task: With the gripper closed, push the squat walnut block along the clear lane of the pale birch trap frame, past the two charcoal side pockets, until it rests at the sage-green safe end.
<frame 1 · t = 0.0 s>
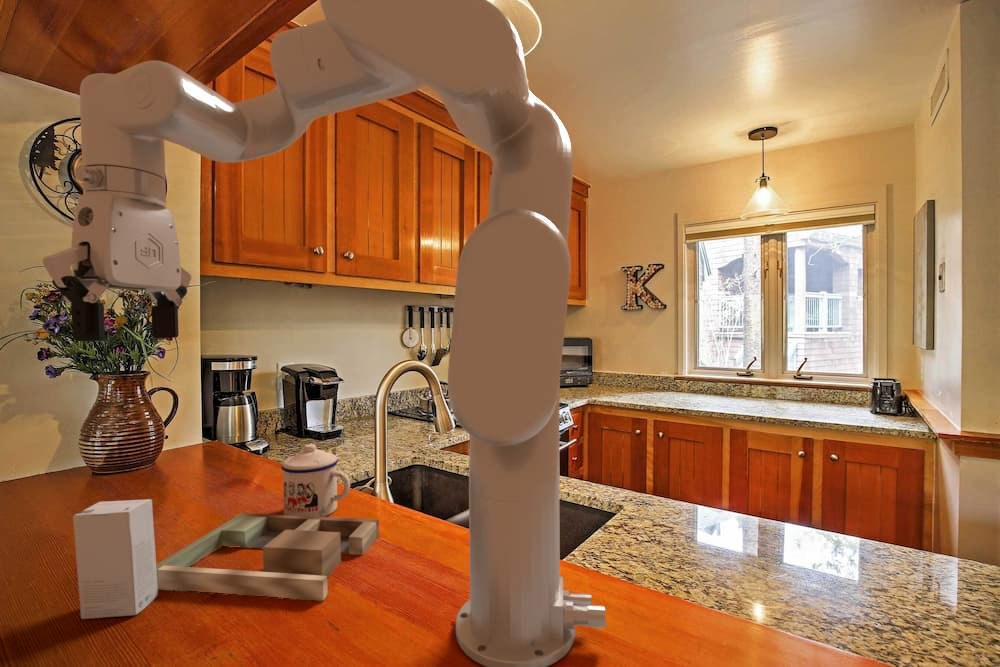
hand: (130, 339, 55), 31 cm above the countertop, tool pointing down, fingers open, 9 cm apart
skincare box: (119, 610, 54), on the countertop
teacup with lid: (318, 513, 81), on the countertop
block: (303, 572, 62), on the countertop
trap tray: (277, 561, 64), on the countertop
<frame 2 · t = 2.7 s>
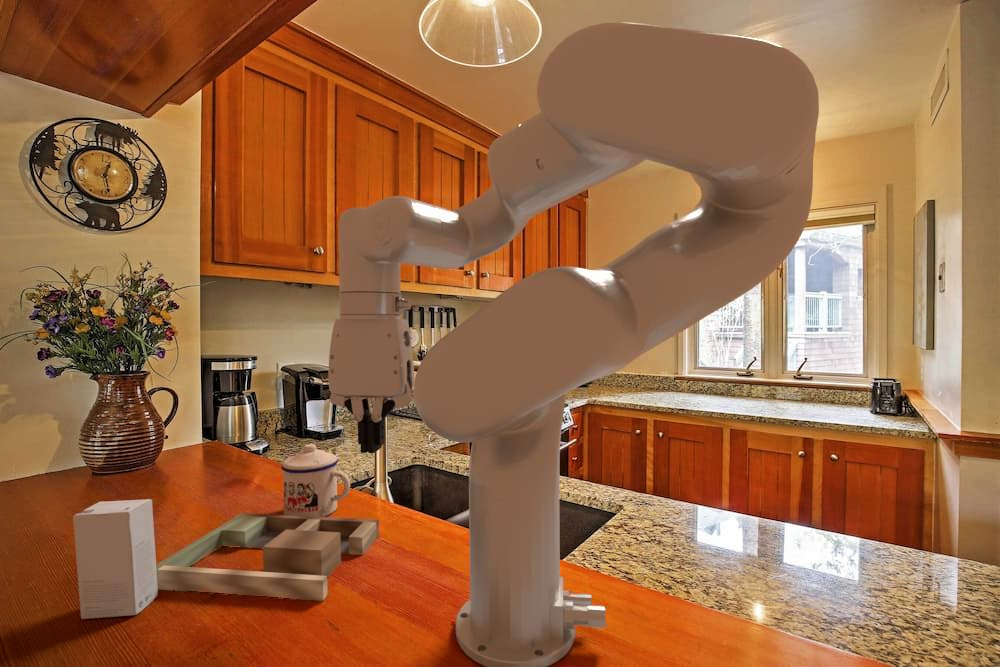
hand: (371, 449, 60), 16 cm above the countertop, tool pointing down, fingers closed
nothing on the countertop moved.
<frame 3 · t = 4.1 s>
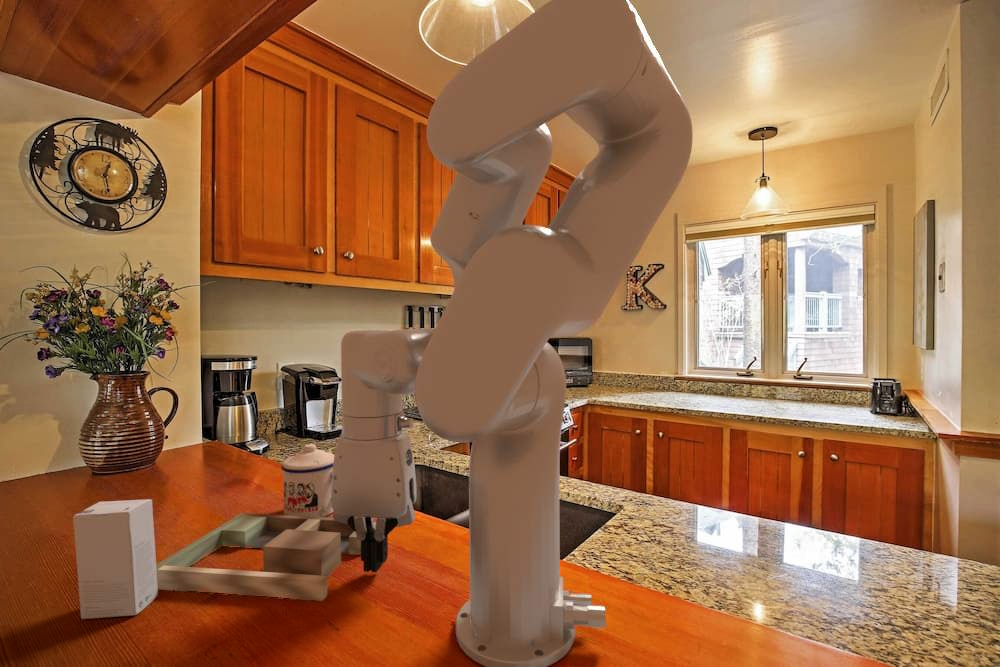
hand: (374, 566, 61), 1 cm above the countertop, tool pointing down, fingers closed
nothing on the countertop moved.
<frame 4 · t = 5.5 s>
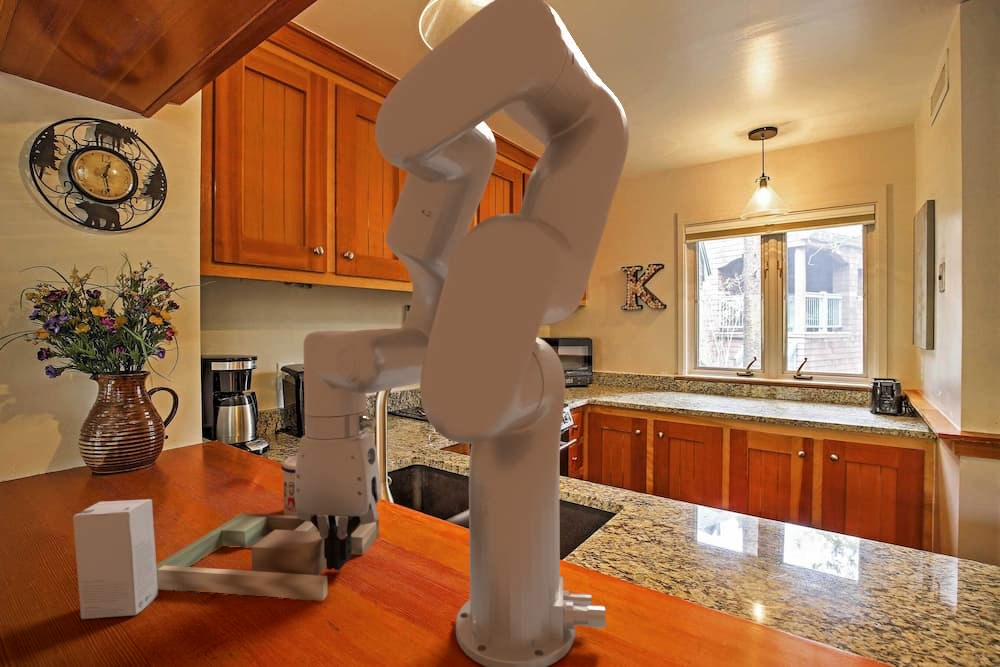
hand: (338, 564, 61), 1 cm above the countertop, tool pointing down, fingers closed
block: (292, 572, 62), on the countertop, touching gripper
everything else where it was.
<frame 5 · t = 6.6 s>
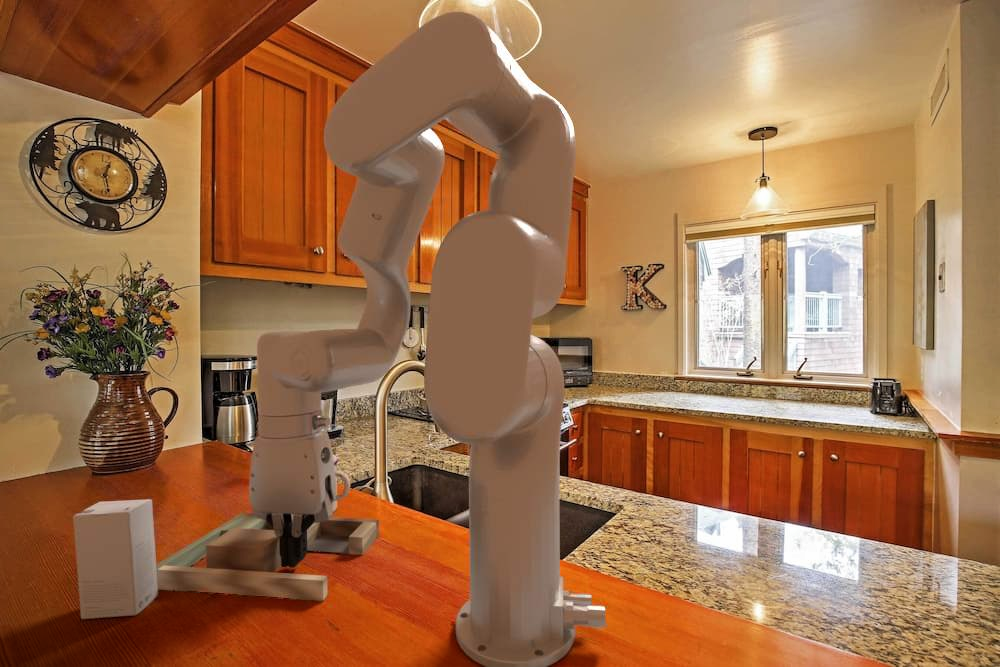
hand: (293, 561, 62), 1 cm above the countertop, tool pointing down, fingers closed
block: (248, 570, 62), on the countertop, touching gripper
everything else where it was.
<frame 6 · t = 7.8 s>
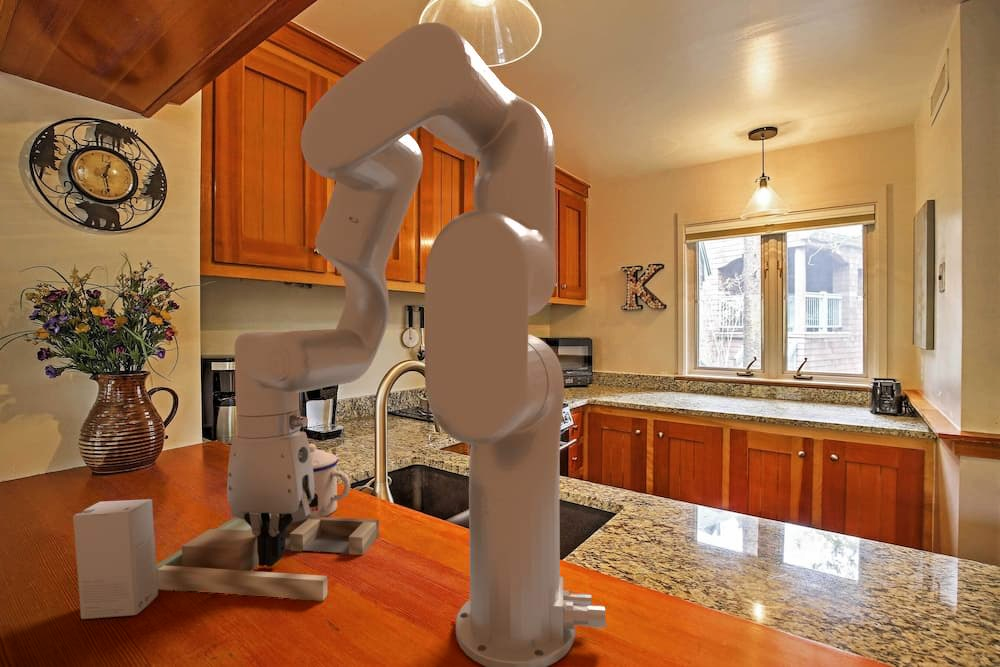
hand: (271, 560, 62), 1 cm above the countertop, tool pointing down, fingers closed
block: (224, 571, 62), on the countertop
everything else where it was.
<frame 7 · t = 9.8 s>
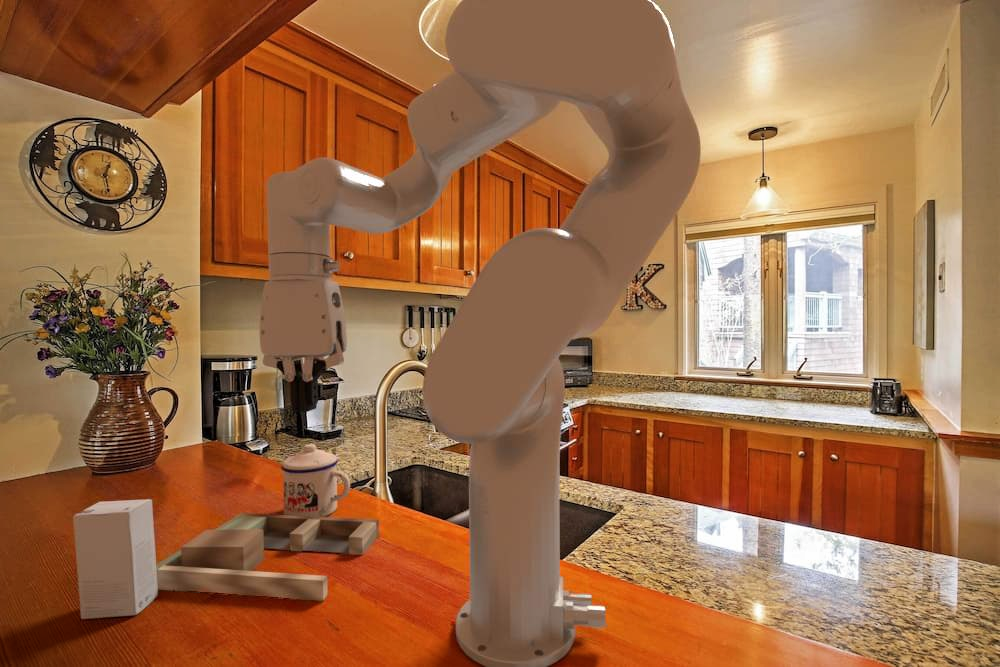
hand: (304, 410, 62), 21 cm above the countertop, tool pointing down, fingers closed
nothing on the countertop moved.
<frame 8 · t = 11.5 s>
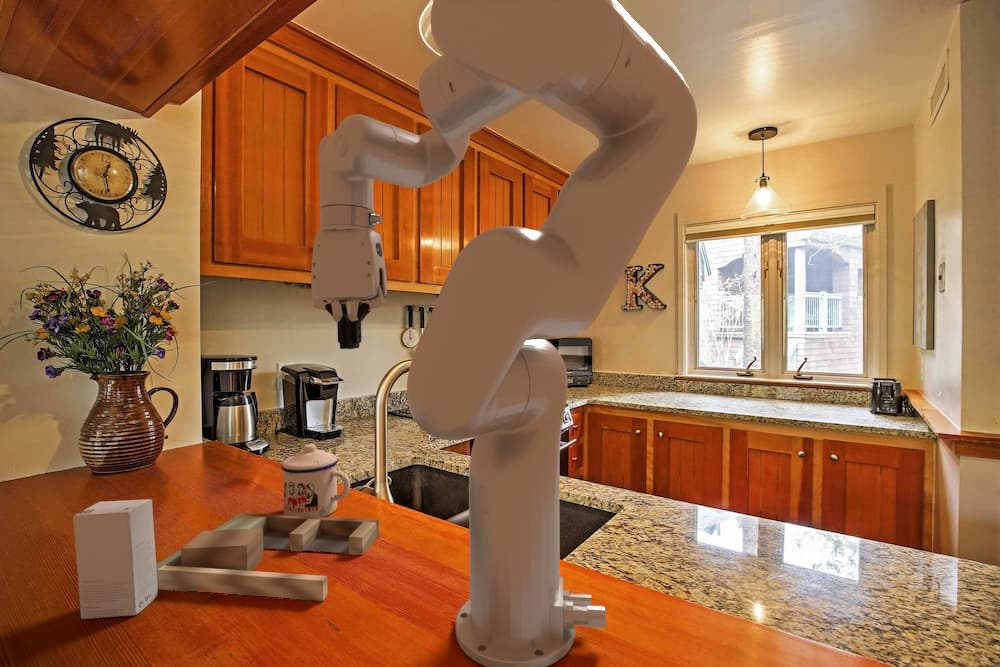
hand: (349, 348, 69), 29 cm above the countertop, tool pointing down, fingers closed
nothing on the countertop moved.
at the end: block inside the target area (1.2 cm from its centre), on the countertop; block tilted 0° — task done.
